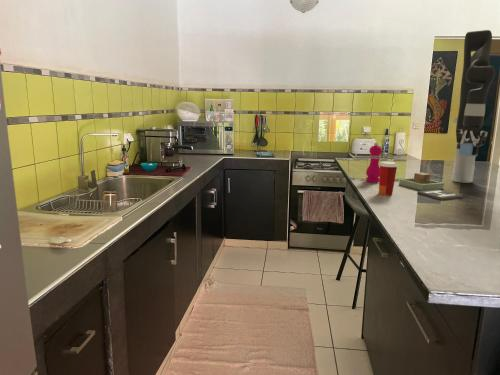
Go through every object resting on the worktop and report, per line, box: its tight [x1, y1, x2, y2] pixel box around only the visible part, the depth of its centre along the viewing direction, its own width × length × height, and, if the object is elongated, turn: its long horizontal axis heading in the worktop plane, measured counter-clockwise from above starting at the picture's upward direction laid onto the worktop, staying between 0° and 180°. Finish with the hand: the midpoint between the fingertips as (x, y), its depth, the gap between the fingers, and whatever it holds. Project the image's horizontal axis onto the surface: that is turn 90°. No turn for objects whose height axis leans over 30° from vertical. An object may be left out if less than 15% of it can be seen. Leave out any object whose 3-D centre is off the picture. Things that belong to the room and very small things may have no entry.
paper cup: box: [378, 161, 398, 196], centre depth 171 cm, size 8×8×14 cm
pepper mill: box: [365, 142, 383, 183], centre depth 197 cm, size 7×7×20 cm
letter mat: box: [416, 189, 464, 201], centre depth 172 cm, size 13×13×1 cm
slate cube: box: [459, 143, 479, 157], centre depth 170 cm, size 5×5×5 cm
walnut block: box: [413, 172, 431, 184], centre depth 188 cm, size 5×5×6 cm
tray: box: [398, 177, 445, 191], centre depth 189 cm, size 14×14×3 cm
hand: (468, 154), depth 170 cm, fingers closed on slate cube, 5 cm apart
